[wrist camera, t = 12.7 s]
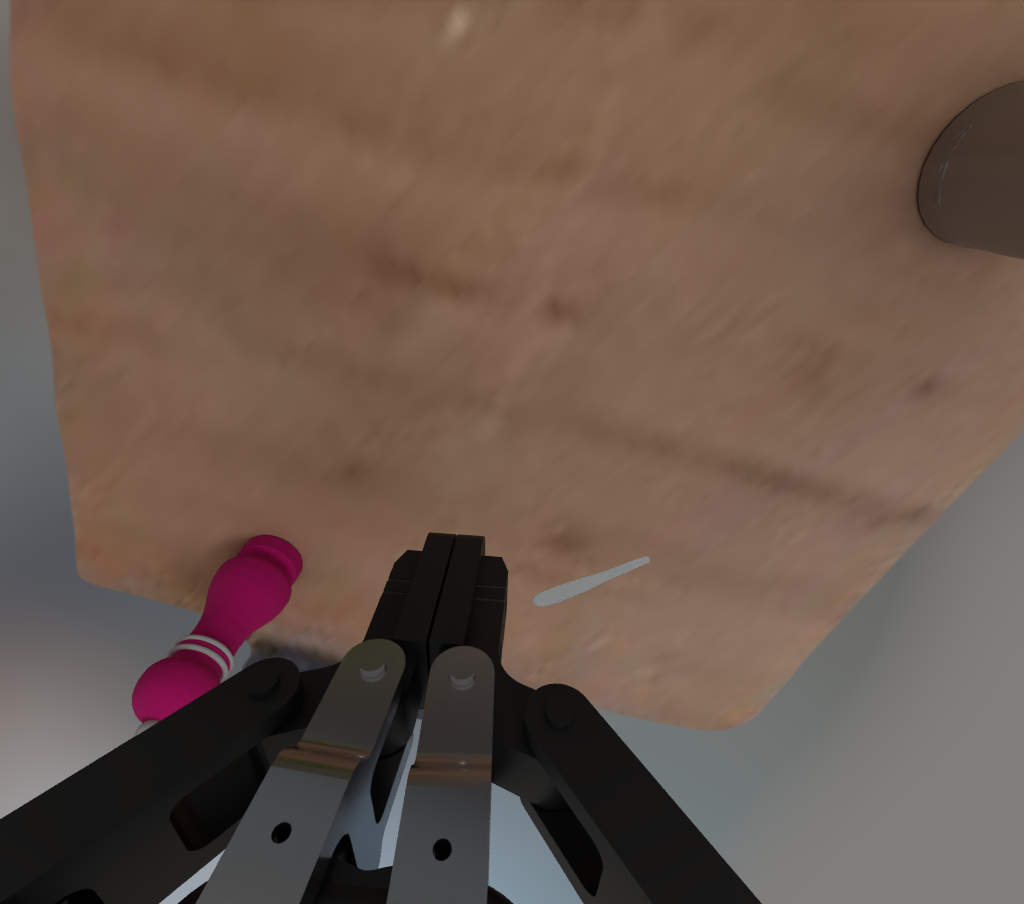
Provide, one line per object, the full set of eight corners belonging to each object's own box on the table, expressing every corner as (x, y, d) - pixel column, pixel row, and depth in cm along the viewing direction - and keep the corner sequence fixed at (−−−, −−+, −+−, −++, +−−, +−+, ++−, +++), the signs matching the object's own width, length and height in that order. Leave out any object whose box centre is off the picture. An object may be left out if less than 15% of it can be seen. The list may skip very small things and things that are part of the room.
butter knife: (524, 592, 54) (539, 611, 55) (786, 488, 46) (796, 513, 47) (525, 588, 54) (539, 607, 55) (783, 485, 46) (794, 510, 47)
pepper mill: (278, 521, 52) (137, 704, 34) (321, 571, 55) (212, 762, 37) (225, 543, 54) (68, 726, 36) (270, 590, 57) (144, 780, 39)
